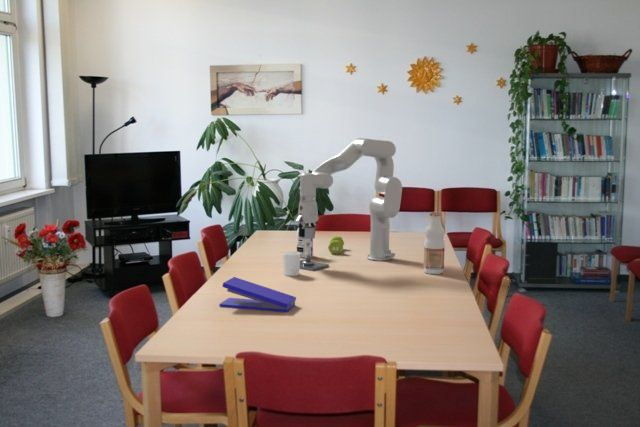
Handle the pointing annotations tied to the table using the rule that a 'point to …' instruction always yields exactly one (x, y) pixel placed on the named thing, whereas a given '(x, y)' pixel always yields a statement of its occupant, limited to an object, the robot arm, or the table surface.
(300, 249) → the supplement can
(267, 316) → the table surface
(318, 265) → the shaft stand
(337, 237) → the dumbbell
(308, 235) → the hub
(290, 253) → the white cup
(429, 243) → the fruit juice
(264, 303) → the stapler
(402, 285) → the table surface
